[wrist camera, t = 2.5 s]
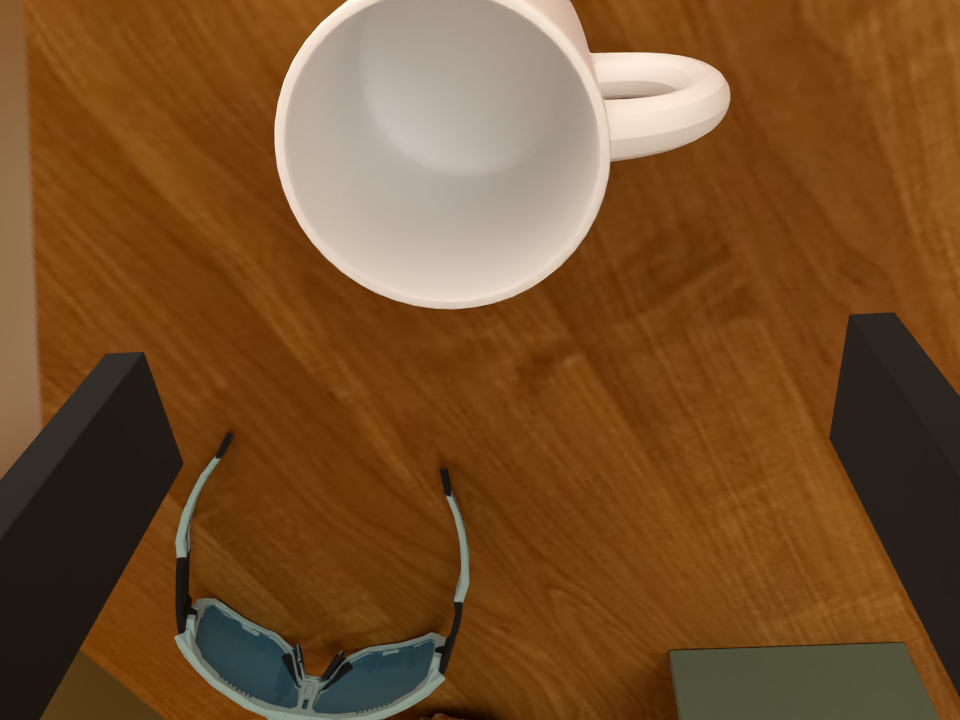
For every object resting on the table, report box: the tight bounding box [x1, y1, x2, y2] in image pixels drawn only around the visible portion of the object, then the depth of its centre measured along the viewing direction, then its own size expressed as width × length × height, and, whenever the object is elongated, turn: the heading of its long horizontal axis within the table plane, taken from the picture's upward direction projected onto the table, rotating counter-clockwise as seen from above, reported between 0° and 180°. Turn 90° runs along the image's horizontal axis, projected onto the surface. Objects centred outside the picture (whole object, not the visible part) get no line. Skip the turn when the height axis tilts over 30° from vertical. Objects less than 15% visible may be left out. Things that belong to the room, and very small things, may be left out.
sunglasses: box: [174, 433, 469, 720], centre depth 41 cm, size 14×15×5 cm
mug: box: [275, 0, 730, 309], centre depth 25 cm, size 12×8×10 cm
